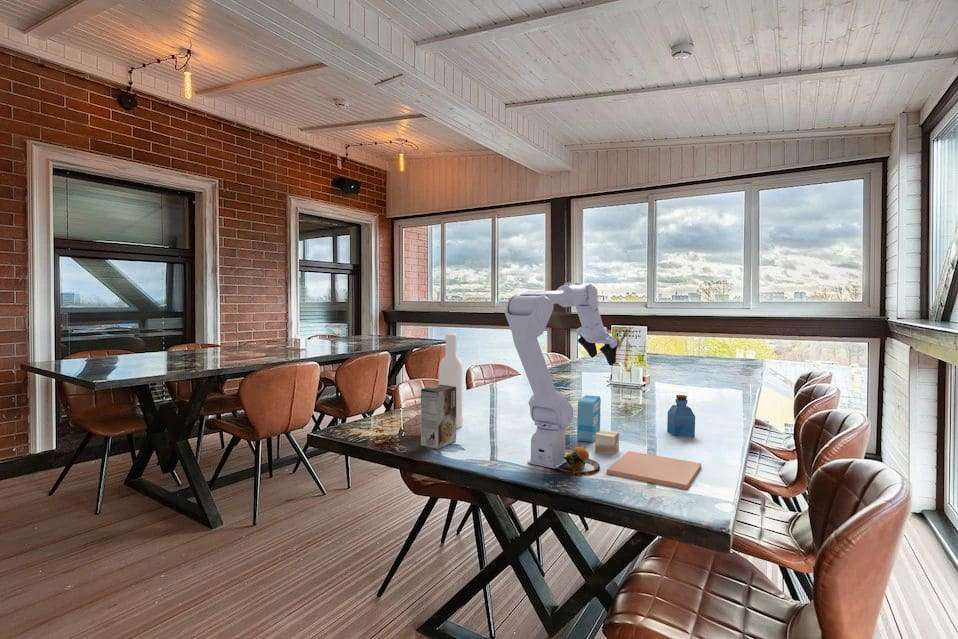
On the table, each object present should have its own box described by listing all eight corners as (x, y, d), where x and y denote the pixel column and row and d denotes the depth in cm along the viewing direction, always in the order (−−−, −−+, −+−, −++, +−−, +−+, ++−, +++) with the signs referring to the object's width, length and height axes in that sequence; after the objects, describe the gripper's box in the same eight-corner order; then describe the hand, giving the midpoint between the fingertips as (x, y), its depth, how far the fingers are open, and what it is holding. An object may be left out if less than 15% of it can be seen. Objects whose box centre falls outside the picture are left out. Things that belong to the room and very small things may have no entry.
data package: (592, 443, 145) (593, 402, 145) (576, 441, 147) (577, 401, 147) (600, 434, 156) (600, 395, 156) (585, 432, 158) (586, 394, 158)
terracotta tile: (686, 489, 110) (687, 485, 110) (606, 473, 120) (606, 469, 120) (701, 467, 125) (701, 463, 125) (628, 454, 135) (628, 450, 135)
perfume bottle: (694, 436, 154) (695, 397, 154) (674, 436, 154) (675, 397, 154) (686, 431, 160) (687, 394, 160) (667, 431, 160) (668, 393, 160)
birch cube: (613, 455, 135) (613, 436, 135) (595, 451, 138) (595, 433, 137) (618, 450, 139) (619, 432, 139) (601, 447, 142) (601, 429, 142)
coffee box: (438, 438, 149) (439, 383, 149) (456, 441, 146) (457, 386, 145) (419, 445, 141) (420, 388, 141) (438, 449, 138) (439, 390, 137)
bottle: (434, 428, 161) (435, 334, 160) (443, 422, 168) (444, 332, 167) (458, 430, 159) (459, 335, 158) (465, 424, 166) (467, 333, 165)
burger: (566, 460, 133) (567, 431, 133) (608, 470, 125) (609, 440, 125) (542, 471, 124) (542, 441, 123) (585, 482, 116) (586, 450, 116)
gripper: (620, 320, 138) (631, 359, 144) (583, 309, 150) (595, 345, 156) (602, 333, 135) (614, 373, 141) (566, 321, 147) (579, 358, 153)
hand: (603, 359), depth 148 cm, fingers open, 7 cm apart
